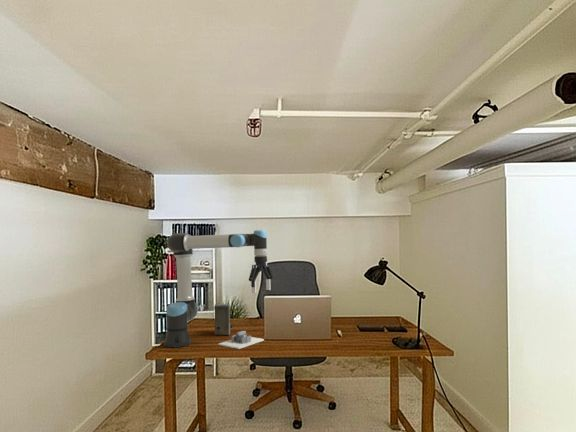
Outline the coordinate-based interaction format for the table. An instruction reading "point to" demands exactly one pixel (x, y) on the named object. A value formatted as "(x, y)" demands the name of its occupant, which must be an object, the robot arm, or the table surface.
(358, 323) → the table surface
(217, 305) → the vintage camera
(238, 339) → the light grey cube
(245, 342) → the barrel stand
